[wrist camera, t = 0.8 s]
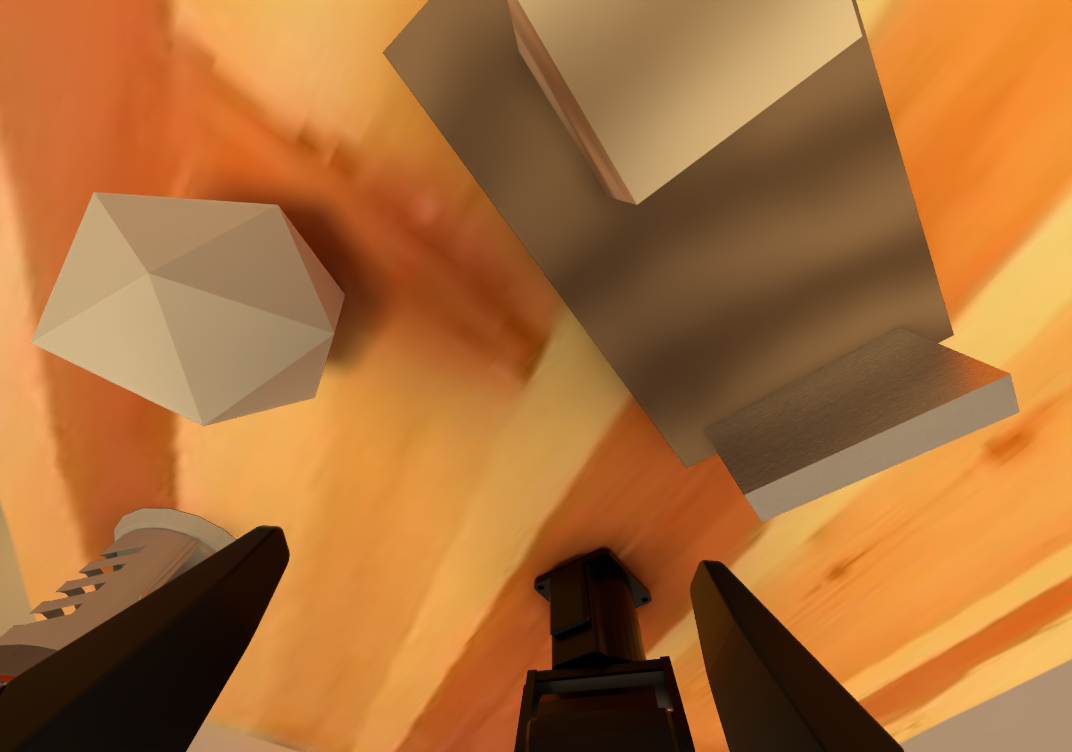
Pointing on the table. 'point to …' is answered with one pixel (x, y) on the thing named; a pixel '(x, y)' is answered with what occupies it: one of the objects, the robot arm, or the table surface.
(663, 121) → the cube
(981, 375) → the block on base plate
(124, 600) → the french press
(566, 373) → the table surface
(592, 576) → the robot arm
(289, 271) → the die
